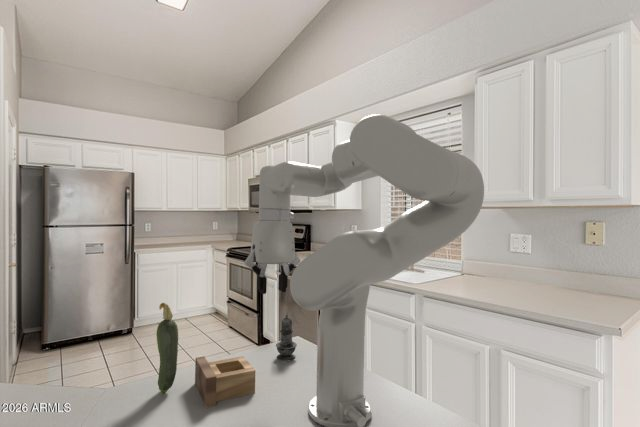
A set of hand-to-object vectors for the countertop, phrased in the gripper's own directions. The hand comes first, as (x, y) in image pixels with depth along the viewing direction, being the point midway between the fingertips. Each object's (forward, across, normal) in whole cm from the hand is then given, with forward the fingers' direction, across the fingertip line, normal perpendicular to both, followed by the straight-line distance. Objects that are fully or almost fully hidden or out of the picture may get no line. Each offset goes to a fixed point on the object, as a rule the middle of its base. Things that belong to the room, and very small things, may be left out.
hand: (272, 291), depth 86 cm
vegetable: (+22, +23, -4) cm, 32 cm away
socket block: (+21, +10, 0) cm, 24 cm away
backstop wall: (+21, +16, 0) cm, 26 cm away
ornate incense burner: (+22, -9, -11) cm, 26 cm away
